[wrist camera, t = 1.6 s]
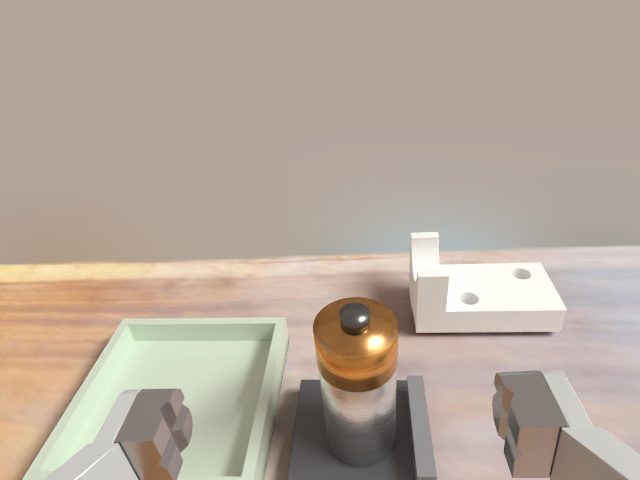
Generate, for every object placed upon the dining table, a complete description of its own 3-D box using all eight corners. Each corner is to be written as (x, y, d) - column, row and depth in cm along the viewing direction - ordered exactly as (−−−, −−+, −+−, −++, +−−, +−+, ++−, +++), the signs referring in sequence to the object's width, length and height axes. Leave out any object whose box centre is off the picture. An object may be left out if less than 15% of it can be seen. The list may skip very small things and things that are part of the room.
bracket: (415, 339, 43) (418, 277, 39) (408, 291, 49) (410, 232, 45) (559, 339, 42) (577, 273, 38) (534, 289, 48) (548, 228, 44)
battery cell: (324, 467, 32) (307, 344, 25) (328, 405, 36) (315, 285, 29) (398, 469, 31) (401, 344, 24) (394, 405, 35) (395, 284, 29)
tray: (39, 504, 33) (20, 481, 31) (132, 340, 46) (123, 318, 44) (258, 513, 31) (250, 489, 29) (289, 340, 44) (285, 317, 42)
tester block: (287, 514, 31) (281, 488, 29) (303, 391, 39) (298, 365, 37) (439, 520, 30) (442, 493, 28) (421, 392, 38) (423, 365, 36)
